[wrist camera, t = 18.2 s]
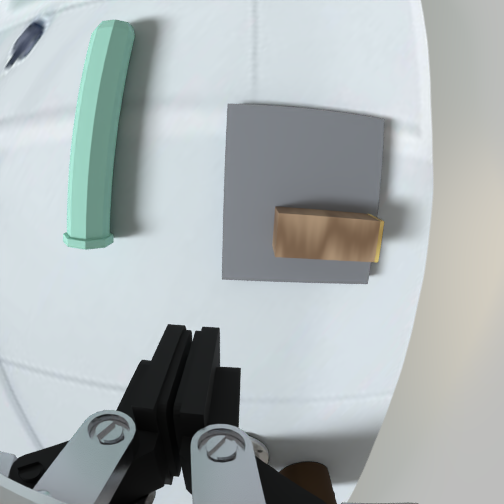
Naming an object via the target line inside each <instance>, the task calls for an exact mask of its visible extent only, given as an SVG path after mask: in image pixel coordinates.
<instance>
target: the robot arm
mask: <svg viewBox="0 0 504 504" xmlns="http://www.w3.org/2000/svg"><path fill="white" fill-rule="evenodd" d="M240 375H241V368H232V367H220V329H219V328H214V327H202V330H201V331H195V334H194V338H193V341H192V332H191V330H186V327H185V326H184V325H171V324H168V326H167V328H166V330H165V332H164V334H163V336H162V338H161V340H160V343H159V345H158V347H157V349H156V351H155V354H154V356H153V358H152V360H151V361H148V360H142V361H141V362H140V363H139V365H138V367H137V369H136V371H135V373H134V375H133V377H132V379H131V381H130V383H129V385H128V387H127V389H126V391H125V394H124V396H123V398H122V400H121V402H120V404H119V406H118V408H117V410H116V411H115V410H104V411H100V412H96V413H95V414H93V415H91V416H89V417H88V418H87V419H86V420H85V421H84V423H83V424H82V425H81V427H80V428H79V429H78V430H77V432H76V433H75V434H74V436H73V437H72V438H71V439H70V440H69V441H67V442H64V443H61V444H58V445H55V446H52V447H49V448H45V449H42V450H39V451H36V452H33V453H29V454H26V455H24V456H21V457H19V458H17V457H16V456H15V455H14V454H9V453H5V452H1V451H0V504H152V503H153V501H154V498H155V494H156V491H155V490H157V489H159V488H161V487H163V486H164V484H169V485H172V480H173V476H177V477H179V475H180V471H181V466H182V471H183V476H184V481H185V485H186V489H187V490H188V491H189V492H190V493H191V494H192V497H193V504H327V503H325V502H324V501H323V500H322V499H320V498H318V497H317V496H315V495H313V494H312V493H310V492H309V491H307V490H305V489H304V488H302V487H301V486H299V485H297V484H296V483H294V482H293V481H291V480H290V479H288V478H287V477H285V476H284V475H282V474H281V473H279V472H278V471H276V470H275V469H273V468H272V467H271V466H269V465H268V461H269V453H268V450H267V448H266V446H265V445H264V444H263V443H262V442H260V441H259V440H257V439H255V438H253V437H251V436H248V435H247V434H246V433H245V432H244V431H243V430H241V429H240V428H238V427H239V404H240ZM341 504H376V503H343V502H342V503H341ZM378 504H379V503H378ZM380 504H418V503H380Z"/></svg>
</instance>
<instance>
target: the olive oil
mask: <svg viewBox="0 0 504 504" xmlns="http://www.w3.org/2000/svg"><path fill="white" fill-rule="evenodd" d="M279 473H281V474H282V475H284V476H285V477H287V478H288V479H290V480H291V481H293V482H294V483H296V484H297V485H299V486H301V487H302V488H304V489H305V490H307V491H309V492H310V493H312V494H313V495H315V496H317V497H318V498H320V499H322V500H323V501H324V502H325V503H327V504H337V503H336V499H335V493H334V491H333V488H332V484H331V480H330V476H329V472H328V469H327V467H326V466H324V465H323V464H320V463H316V462H301V463H296V464H293V465H290V466H288V467H286V468H284V469H282V470H281V471H280V472H279Z"/></svg>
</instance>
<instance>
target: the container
mask: <svg viewBox="0 0 504 504" xmlns="http://www.w3.org/2000/svg"><path fill="white" fill-rule="evenodd" d="M134 38H135V34H134V30H133V27H132V26H131V25H130V24H129V23H128V22H124V21H119V20H108V21H102V22H101V23H100V24H99V25H98V27H97V28H96V29H95V30H94V32H93V33H92V35H91V39H90V43H89V47H88V51H87V55H86V60H85V64H84V69H83V73H82V78H81V83H80V89H79V94H78V100H77V106H76V113H75V120H74V127H73V135H72V144H71V154H70V166H69V181H68V203H67V233H64V234H63V241H64V243H65V244H66V245H67V246H68V247H72V248H79V249H95V248H105V247H107V246H108V245H110V244H111V243H113V234H111V233H110V209H111V192H112V178H113V167H114V156H115V147H116V139H117V131H118V123H119V116H120V110H121V103H122V97H123V91H124V86H125V80H126V75H127V70H128V65H129V60H130V56H131V51H132V47H133V42H134Z"/></svg>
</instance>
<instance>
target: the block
mask: <svg viewBox="0 0 504 504" xmlns="http://www.w3.org/2000/svg"><path fill="white" fill-rule="evenodd" d="M383 227H384V221H382V220H380V219H378V218H377V217H375V216H373V215H371V214H364V213H353V212H342V211H330V210H318V209H305V208H291V207H275V216H274V230H273V243H272V246H273V250H274V255H275V257H282V258H301V259H320V260H339V261H359V262H378V260H379V254H380V248H381V241H382V234H383Z"/></svg>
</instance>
